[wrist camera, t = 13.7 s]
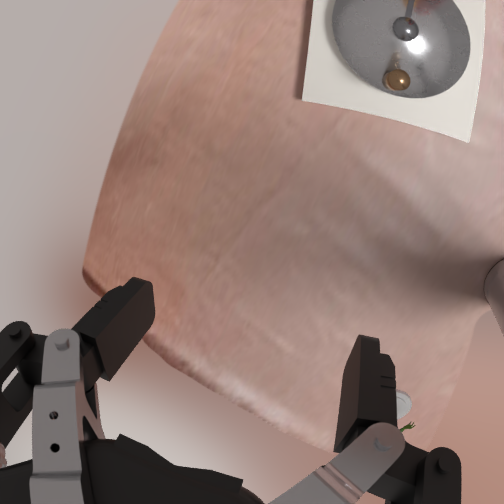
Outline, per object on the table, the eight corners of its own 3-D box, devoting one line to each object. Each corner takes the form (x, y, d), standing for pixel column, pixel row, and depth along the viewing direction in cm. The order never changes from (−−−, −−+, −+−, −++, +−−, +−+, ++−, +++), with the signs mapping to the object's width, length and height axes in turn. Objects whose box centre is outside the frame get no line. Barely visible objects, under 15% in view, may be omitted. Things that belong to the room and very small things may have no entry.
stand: (480, -11, 22) (490, -17, 19) (463, 140, 34) (474, 145, 31) (320, -52, 26) (317, -64, 23) (303, 100, 38) (299, 100, 35)
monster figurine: (420, 391, 56) (423, 432, 47) (399, 422, 62) (398, 459, 53) (367, 385, 58) (365, 427, 49) (350, 416, 64) (346, 454, 55)
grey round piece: (347, -44, 25) (346, -68, 19) (475, 6, 23) (499, -7, 17) (318, 70, 34) (312, 65, 27) (448, 119, 32) (469, 126, 25)
